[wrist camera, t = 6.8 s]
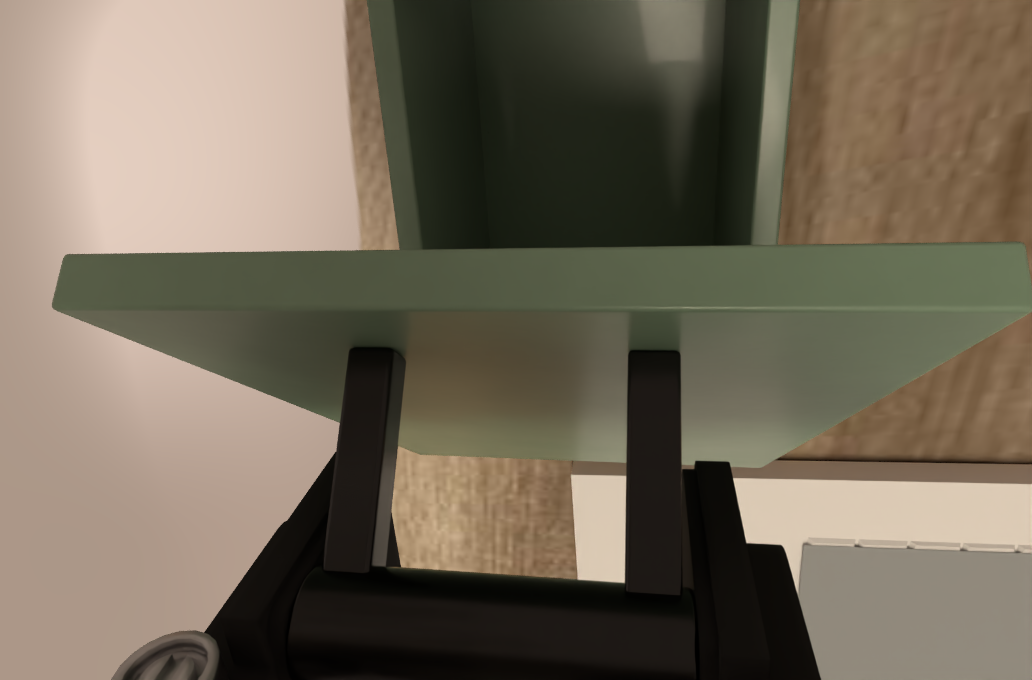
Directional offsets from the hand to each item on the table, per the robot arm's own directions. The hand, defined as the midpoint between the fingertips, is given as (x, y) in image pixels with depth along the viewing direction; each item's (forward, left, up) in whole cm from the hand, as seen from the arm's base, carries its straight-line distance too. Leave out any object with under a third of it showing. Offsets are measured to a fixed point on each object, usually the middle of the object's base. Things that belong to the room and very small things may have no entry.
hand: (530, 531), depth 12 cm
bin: (-3, 0, -22) cm, 22 cm away
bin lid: (0, 0, -5) cm, 5 cm away
